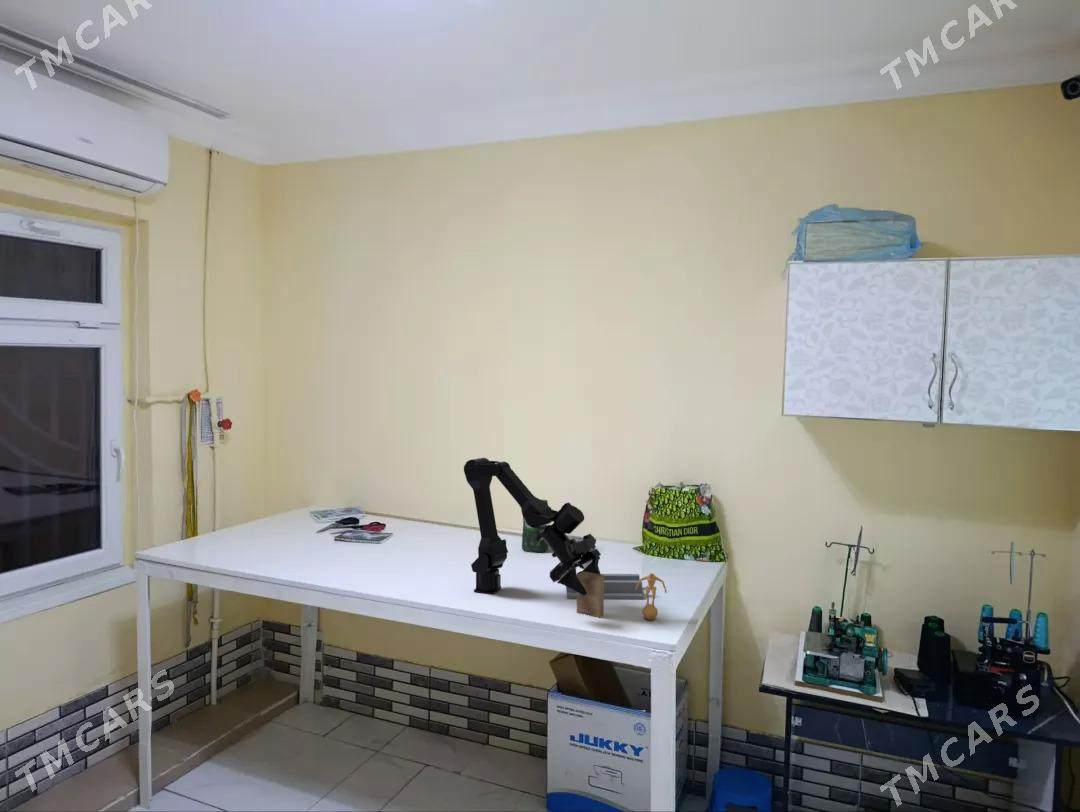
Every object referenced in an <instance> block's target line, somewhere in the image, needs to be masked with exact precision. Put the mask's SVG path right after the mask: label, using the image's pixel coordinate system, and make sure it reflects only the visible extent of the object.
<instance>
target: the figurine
mask: <svg viewBox="0 0 1080 812" xmlns="http://www.w3.org/2000/svg"><path fill="white" fill-rule="evenodd" d="M646 580H647V582H648V583H647V584H648V585H646V586H645V590H646V591H645V596H646V604H645V605H644V606H643V608H642V610H641V611H642V612H641V613H642V615H643V618H644V619H646V620H649V621H652V620H655V619H656V618H657V616H658V613H659V612H658V609H657V607H656V606H655V599H656V593H657V586H655V584H656V581H659V582H660V583H662V587H663V589H664V593H665V594H667V587H666V585H665V582H664V580H663V579H661V578H659V577H658V576H656V575H655V574H654V573H652V572H650V573H649V574H648V575H646V576H644V577H641V578H640V580H639V582H638V584H637V586H636V589H635V590H637V587H638V585H639V584H640V582H641V581H642V582H643V581H646ZM650 593H651V594H652V596H651V597H652V603H650V596H649V594H650Z"/></svg>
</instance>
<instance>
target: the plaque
mask: <svg viewBox="0 0 1080 812" xmlns="http://www.w3.org/2000/svg"><path fill="white" fill-rule="evenodd" d="M576 573H577V577H578V579H579V580H580V582H581V584H582V585H583V587H584V588H585V590H586V592H587V594H586V595H585V596H583V595H582V594H580V593H578V592H577V599H576V614H579V615H580V614H581V615H584V614H585V616H588V615H589V616H590V617H593V618H597V617H598V619H600V618H602V617H603V616H604V615H605V614H604V613H605V599H604V575H601V574H602V573H600V574H595V573H590V572H585V571H583V570H581V571H578V572H576ZM589 616H588V617H589ZM601 616H602V617H601Z"/></svg>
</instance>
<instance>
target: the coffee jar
mask: <svg viewBox="0 0 1080 812" xmlns="http://www.w3.org/2000/svg"><path fill="white" fill-rule="evenodd" d="M541 500H542V501H544V502H545V503H546V504H547V505H548V506H549V502H548V500H546V499H541ZM520 512H521V513H522V511H520ZM522 520H523V521H522V536H521V537H522V538H521V550H522V551H524V550H525V551H524V552H529V551H532V553H542V552H547V551H548V549H549V548H550V547H549V546H548V544H547V543H546V541H545V540H544V539H543V540H540V541H536V537H537V531H540V530H543V529H544V528H545V527H546V526H547V525H545V526H542V527H539V528H531V527H530V526H529V525H528V524H527V522H526V520H525V519H524V517H523V516H522ZM546 550H547V551H546Z"/></svg>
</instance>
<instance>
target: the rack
mask: <svg viewBox="0 0 1080 812" xmlns="http://www.w3.org/2000/svg"><path fill="white" fill-rule="evenodd" d="M577 573H578V572H576V575H577ZM600 574H601V575H604V600H644V594H643V580H642V581H641V582H640V584H639V585H638V587H637V590H635V589H636V586H637V584H638V582H639V580H640V579H641V578H640V574H639V573H600ZM565 592H566V595H565V596H566V600H567V599H575V600H577V592H576V591H574V590H573V589H571V588H569V587H567V586H565Z"/></svg>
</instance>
